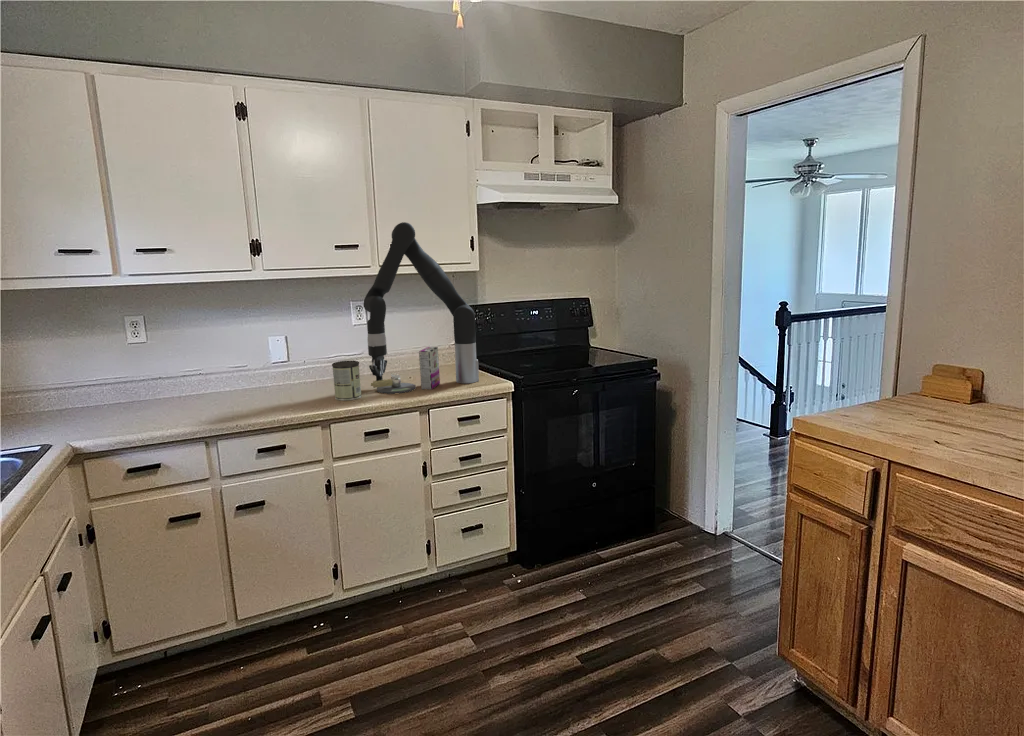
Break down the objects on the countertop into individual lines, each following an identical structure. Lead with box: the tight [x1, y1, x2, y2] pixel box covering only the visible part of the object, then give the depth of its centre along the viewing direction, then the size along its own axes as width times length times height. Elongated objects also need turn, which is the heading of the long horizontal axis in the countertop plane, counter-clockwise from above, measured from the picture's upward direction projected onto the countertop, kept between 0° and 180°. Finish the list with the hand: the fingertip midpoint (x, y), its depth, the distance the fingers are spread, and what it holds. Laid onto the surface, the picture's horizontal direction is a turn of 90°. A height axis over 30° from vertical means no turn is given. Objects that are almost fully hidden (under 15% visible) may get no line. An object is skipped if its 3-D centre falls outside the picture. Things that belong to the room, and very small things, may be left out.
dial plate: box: [376, 382, 416, 395], centre depth 247 cm, size 16×16×1 cm
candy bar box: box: [418, 346, 441, 391], centre depth 249 cm, size 11×5×16 cm, turn 168°
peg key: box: [370, 372, 402, 389], centre depth 245 cm, size 12×5×5 cm, turn 117°
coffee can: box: [331, 360, 362, 402], centre depth 234 cm, size 10×10×14 cm
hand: (379, 384), depth 248 cm, fingers closed
